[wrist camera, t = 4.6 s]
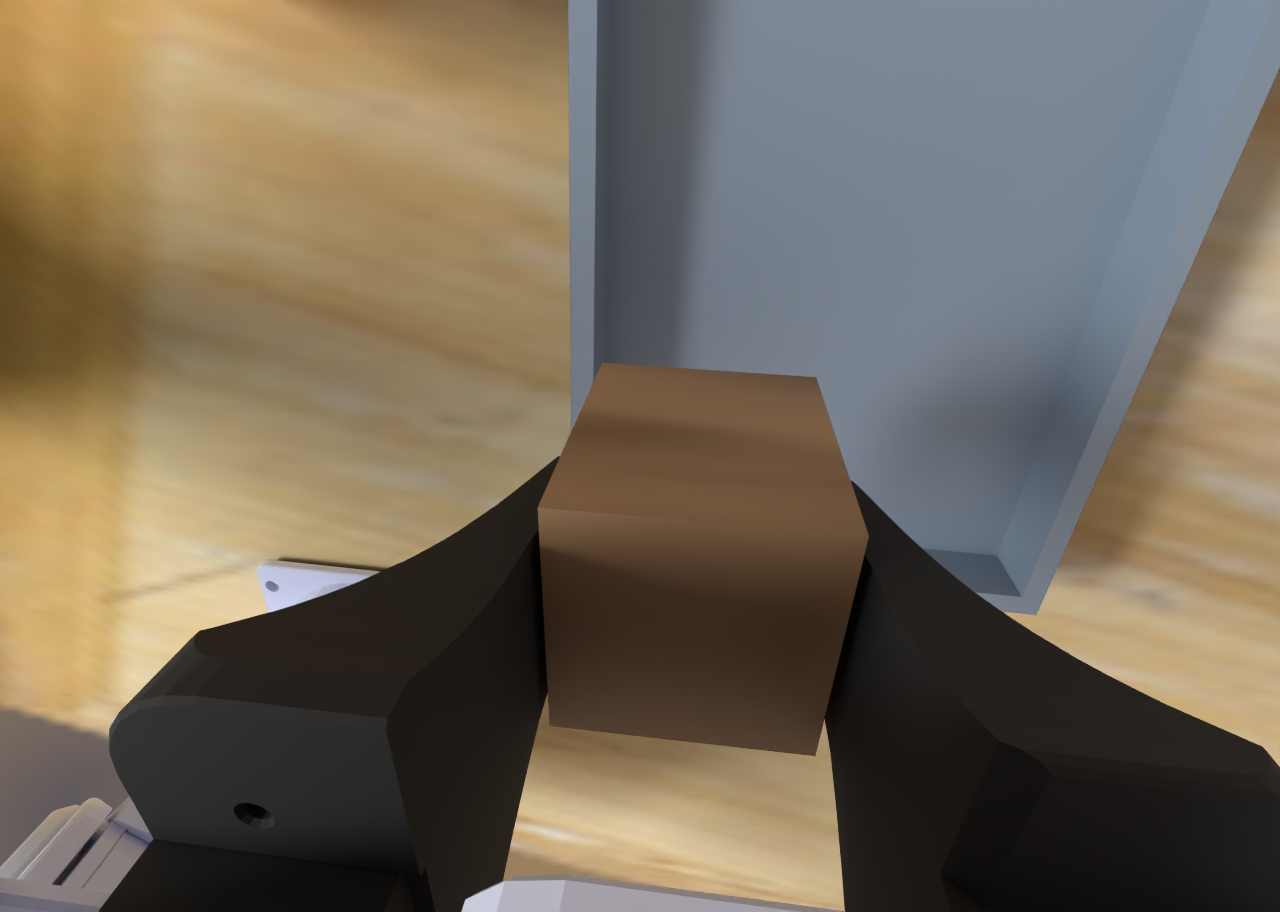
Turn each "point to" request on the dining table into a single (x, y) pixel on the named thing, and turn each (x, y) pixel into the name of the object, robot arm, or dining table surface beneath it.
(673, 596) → the walnut block
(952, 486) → the tray
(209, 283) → the dining table surface
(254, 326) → the dining table surface
